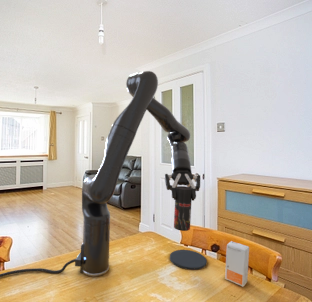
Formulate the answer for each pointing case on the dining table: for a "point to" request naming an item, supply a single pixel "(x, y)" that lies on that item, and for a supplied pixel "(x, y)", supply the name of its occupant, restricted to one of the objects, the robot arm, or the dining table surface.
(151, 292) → the dining table surface
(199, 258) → the mat
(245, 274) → the cosmetic box
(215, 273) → the dining table surface
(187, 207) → the deodorant
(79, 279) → the dining table surface
